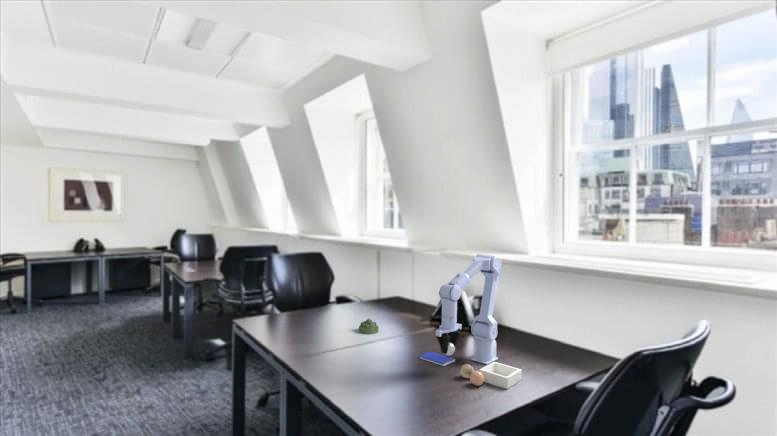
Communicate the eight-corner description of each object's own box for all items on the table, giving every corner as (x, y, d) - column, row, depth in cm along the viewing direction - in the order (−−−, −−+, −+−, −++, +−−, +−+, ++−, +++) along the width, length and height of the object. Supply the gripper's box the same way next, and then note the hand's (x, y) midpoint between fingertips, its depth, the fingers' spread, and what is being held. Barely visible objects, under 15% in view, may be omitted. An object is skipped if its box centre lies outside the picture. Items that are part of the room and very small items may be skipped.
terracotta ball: (474, 381, 152) (474, 367, 152) (486, 385, 148) (486, 371, 148) (467, 385, 148) (467, 371, 148) (479, 389, 145) (479, 375, 145)
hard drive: (455, 358, 172) (431, 351, 180) (443, 363, 166) (419, 355, 174) (455, 362, 172) (431, 354, 180) (443, 367, 166) (419, 359, 174)
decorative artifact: (358, 334, 206) (378, 334, 206) (358, 320, 206) (378, 320, 206) (359, 328, 216) (378, 329, 216) (359, 315, 216) (378, 315, 216)
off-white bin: (494, 371, 161) (494, 361, 161) (521, 380, 153) (521, 369, 153) (479, 380, 152) (479, 369, 152) (507, 389, 145) (507, 378, 145)
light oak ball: (464, 374, 158) (465, 361, 158) (476, 377, 155) (476, 364, 154) (457, 377, 154) (457, 364, 154) (469, 381, 151) (469, 368, 151)
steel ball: (446, 352, 162) (447, 339, 162) (457, 355, 159) (457, 342, 159) (439, 354, 159) (439, 341, 159) (449, 358, 155) (450, 344, 155)
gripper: (451, 310, 167) (450, 344, 167) (429, 317, 156) (428, 353, 156) (466, 314, 162) (465, 348, 162) (444, 321, 151) (444, 357, 151)
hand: (448, 351), depth 159 cm, fingers closed on steel ball, 5 cm apart
